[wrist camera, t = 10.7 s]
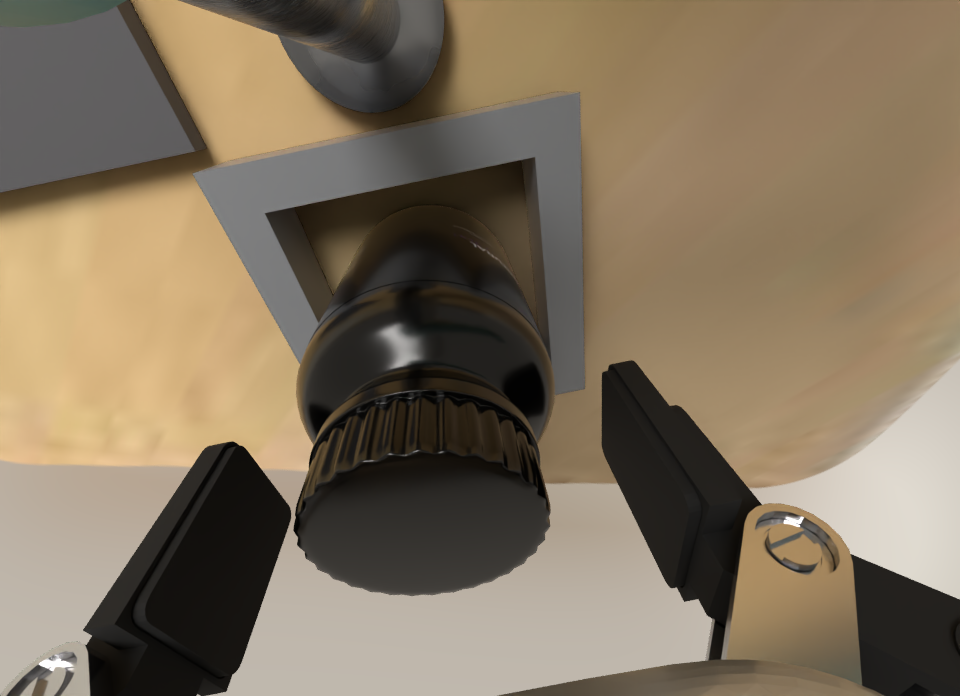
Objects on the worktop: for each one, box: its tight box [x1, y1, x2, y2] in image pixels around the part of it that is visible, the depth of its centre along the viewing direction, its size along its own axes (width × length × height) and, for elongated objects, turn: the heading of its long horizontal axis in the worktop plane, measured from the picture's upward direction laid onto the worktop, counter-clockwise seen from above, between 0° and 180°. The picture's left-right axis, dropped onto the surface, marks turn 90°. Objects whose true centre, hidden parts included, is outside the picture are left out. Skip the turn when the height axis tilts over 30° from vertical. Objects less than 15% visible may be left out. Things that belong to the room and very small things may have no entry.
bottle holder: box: [193, 92, 585, 395], centre depth 16 cm, size 12×12×2 cm
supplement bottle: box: [294, 205, 555, 596], centre depth 12 cm, size 7×7×12 cm
